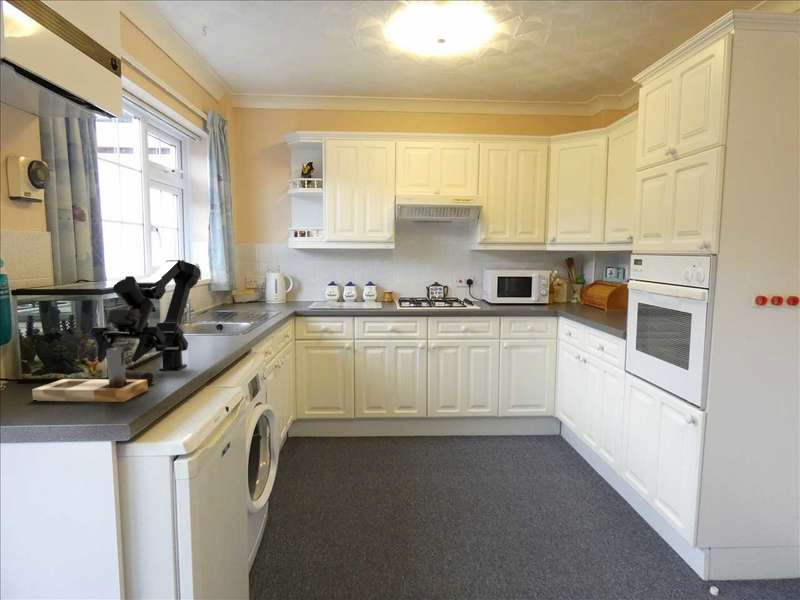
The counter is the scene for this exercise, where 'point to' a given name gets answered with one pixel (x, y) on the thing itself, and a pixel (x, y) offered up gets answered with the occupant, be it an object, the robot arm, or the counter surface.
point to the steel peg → (116, 367)
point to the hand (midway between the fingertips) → (116, 361)
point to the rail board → (88, 390)
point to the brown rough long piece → (139, 376)
